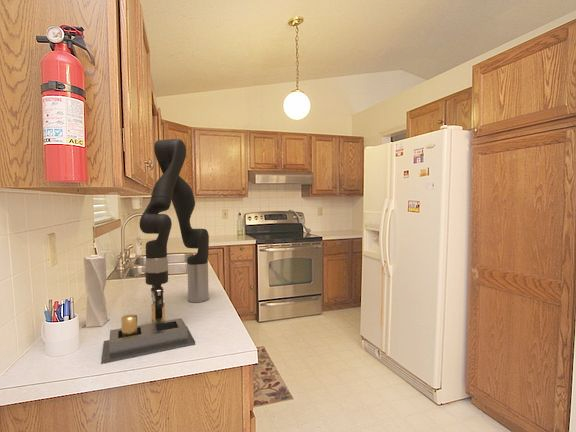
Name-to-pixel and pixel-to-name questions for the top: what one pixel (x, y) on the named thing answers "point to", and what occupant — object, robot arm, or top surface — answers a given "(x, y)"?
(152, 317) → the gold and grey cylinder
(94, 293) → the skyscraper
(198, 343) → the top surface
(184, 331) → the jig
